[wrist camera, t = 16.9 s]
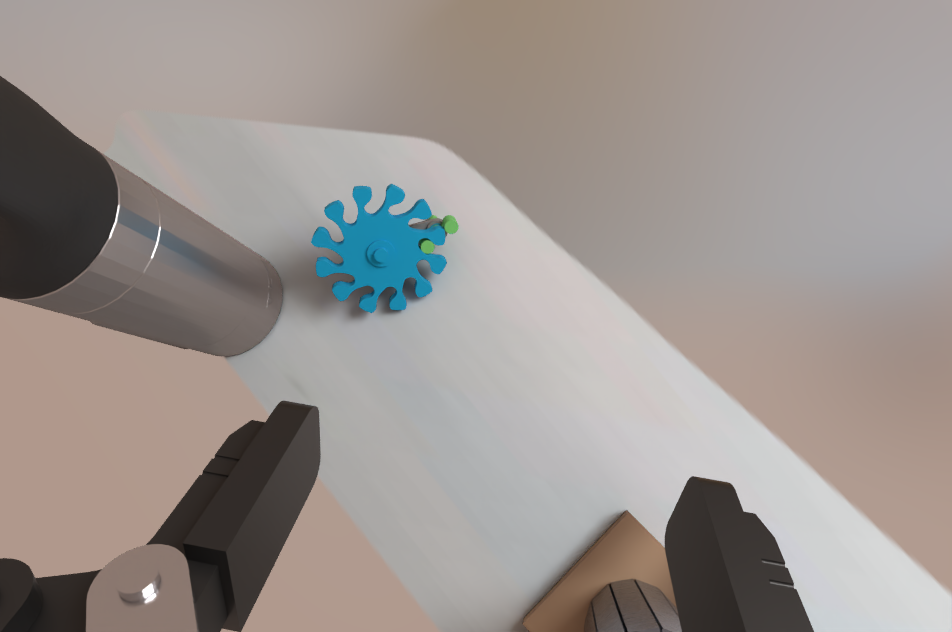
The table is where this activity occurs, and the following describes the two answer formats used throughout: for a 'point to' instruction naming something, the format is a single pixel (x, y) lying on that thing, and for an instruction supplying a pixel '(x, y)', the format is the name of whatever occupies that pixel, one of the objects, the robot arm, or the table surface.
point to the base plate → (602, 576)
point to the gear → (383, 247)
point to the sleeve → (631, 609)
